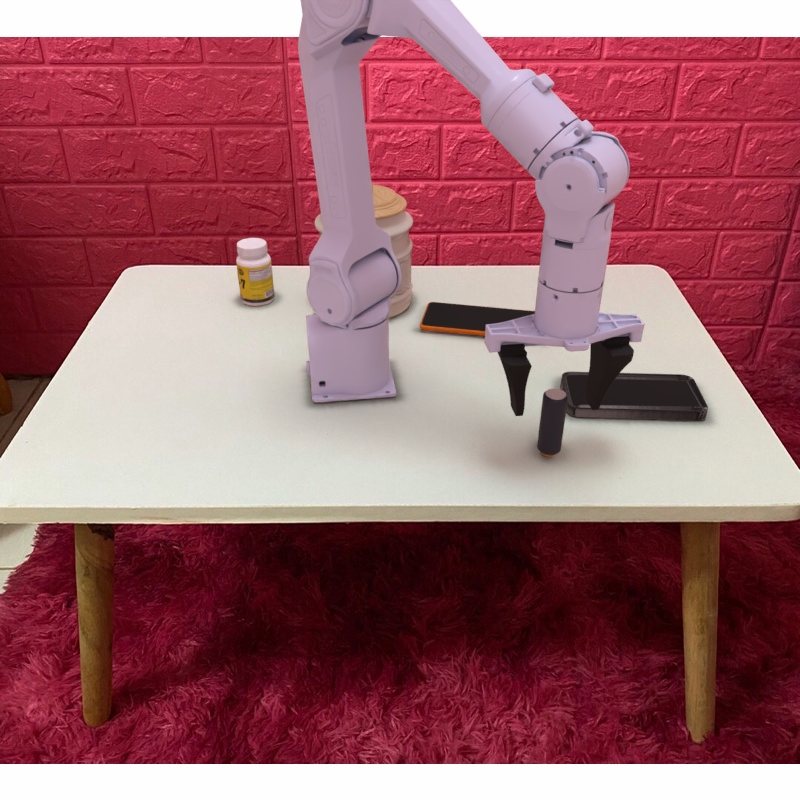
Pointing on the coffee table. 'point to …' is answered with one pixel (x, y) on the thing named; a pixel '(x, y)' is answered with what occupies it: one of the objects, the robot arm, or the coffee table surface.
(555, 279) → the robot arm
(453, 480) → the coffee table surface
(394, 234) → the jar
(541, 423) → the lipstick
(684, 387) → the phone
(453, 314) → the smartphone
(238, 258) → the supplement bottle
